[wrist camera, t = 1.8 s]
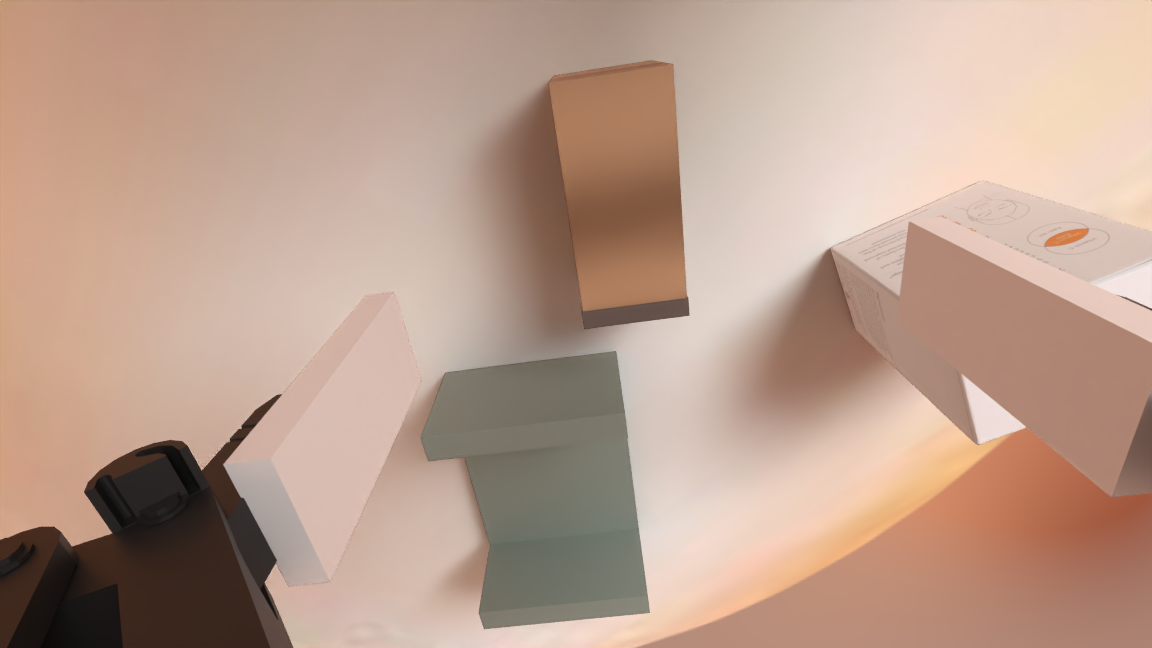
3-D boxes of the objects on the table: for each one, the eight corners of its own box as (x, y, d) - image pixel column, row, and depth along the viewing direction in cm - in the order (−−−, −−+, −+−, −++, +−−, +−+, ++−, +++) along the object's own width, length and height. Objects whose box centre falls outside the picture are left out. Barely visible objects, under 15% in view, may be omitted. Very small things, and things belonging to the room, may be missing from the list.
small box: (852, 330, 31) (972, 451, 22) (826, 245, 29) (947, 339, 20) (1000, 270, 30) (1198, 373, 20) (985, 175, 28) (1199, 242, 18)
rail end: (552, 76, 25) (547, 83, 20) (653, 60, 25) (675, 63, 20) (582, 277, 30) (584, 329, 24) (668, 265, 30) (689, 315, 24)
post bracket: (445, 372, 32) (420, 437, 27) (616, 351, 32) (624, 412, 27) (496, 548, 39) (484, 629, 34) (639, 533, 38) (649, 612, 33)
